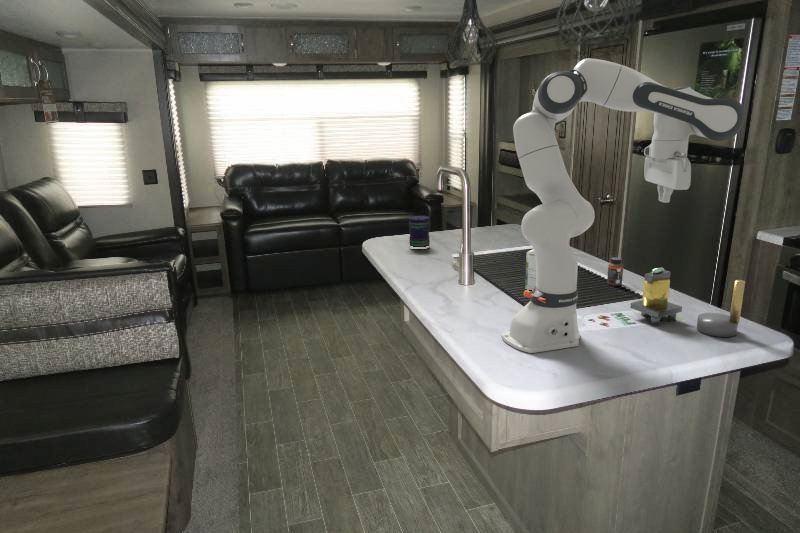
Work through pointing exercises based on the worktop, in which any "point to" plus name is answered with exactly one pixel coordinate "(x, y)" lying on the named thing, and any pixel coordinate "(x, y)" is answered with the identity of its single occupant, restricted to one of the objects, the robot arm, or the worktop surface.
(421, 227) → the storage jar
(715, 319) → the footscrew knob
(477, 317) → the worktop surface
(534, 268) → the syrup box
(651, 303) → the stand
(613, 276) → the supplement bottle
